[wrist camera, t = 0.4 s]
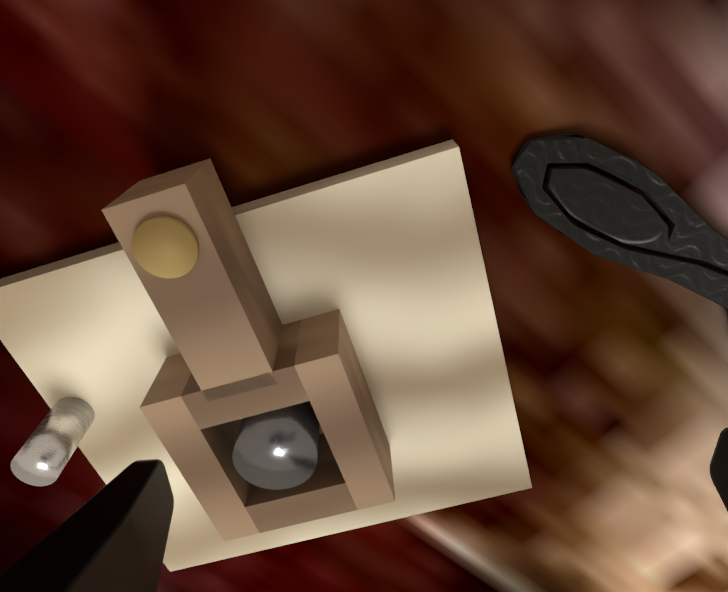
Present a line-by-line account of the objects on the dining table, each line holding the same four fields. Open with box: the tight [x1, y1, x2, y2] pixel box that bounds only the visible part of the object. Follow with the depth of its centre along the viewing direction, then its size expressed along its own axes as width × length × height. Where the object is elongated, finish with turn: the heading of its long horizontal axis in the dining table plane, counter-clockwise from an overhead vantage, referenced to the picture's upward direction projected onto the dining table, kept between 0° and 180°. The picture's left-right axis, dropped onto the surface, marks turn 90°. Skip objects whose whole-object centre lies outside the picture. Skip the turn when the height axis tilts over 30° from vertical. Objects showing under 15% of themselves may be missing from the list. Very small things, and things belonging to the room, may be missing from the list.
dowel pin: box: [11, 397, 95, 486], centre depth 20 cm, size 2×2×3 cm
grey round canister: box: [232, 401, 320, 490], centre depth 21 cm, size 3×3×4 cm
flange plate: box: [102, 159, 395, 541], centre depth 19 cm, size 14×7×3 cm, turn 17°
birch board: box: [0, 140, 532, 572], centre depth 22 cm, size 16×18×1 cm
